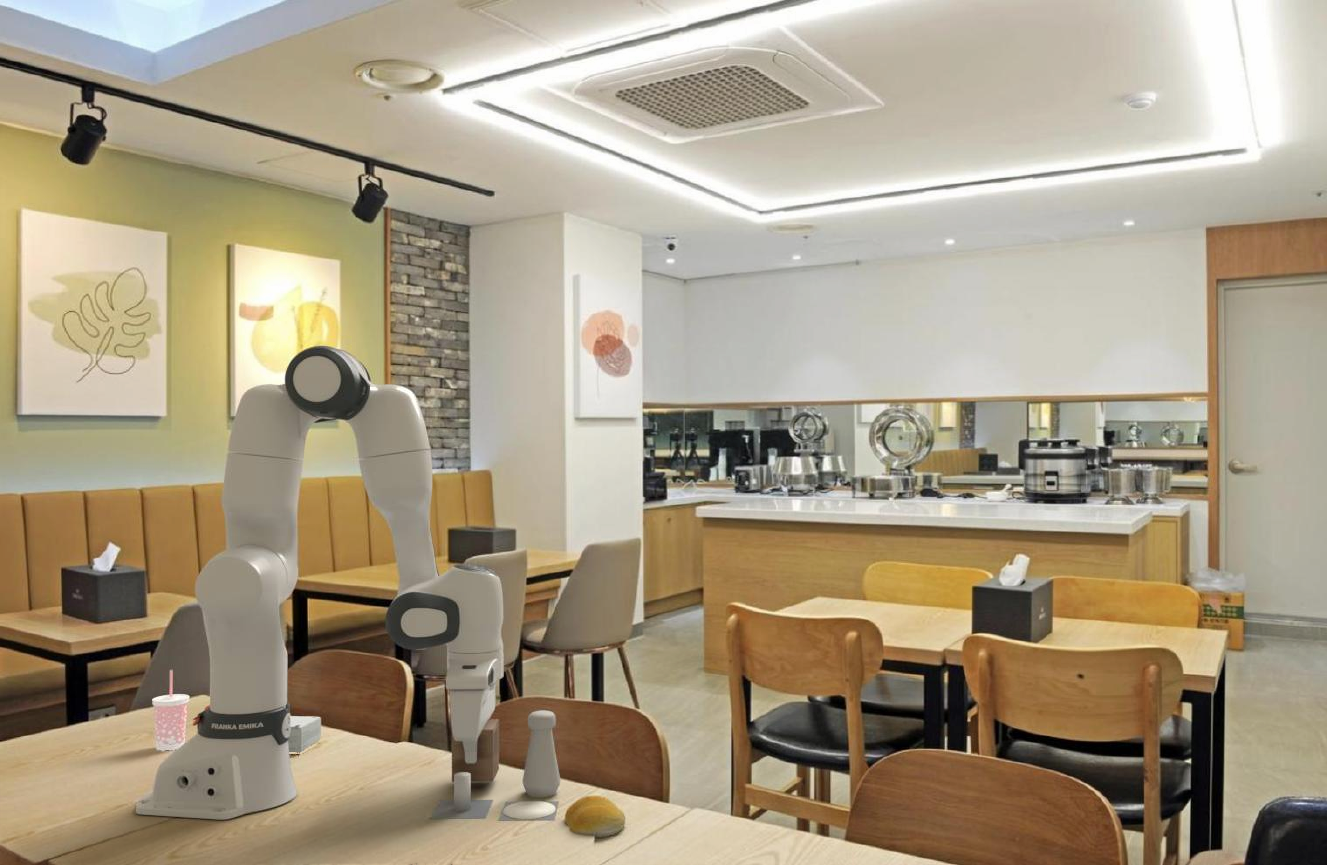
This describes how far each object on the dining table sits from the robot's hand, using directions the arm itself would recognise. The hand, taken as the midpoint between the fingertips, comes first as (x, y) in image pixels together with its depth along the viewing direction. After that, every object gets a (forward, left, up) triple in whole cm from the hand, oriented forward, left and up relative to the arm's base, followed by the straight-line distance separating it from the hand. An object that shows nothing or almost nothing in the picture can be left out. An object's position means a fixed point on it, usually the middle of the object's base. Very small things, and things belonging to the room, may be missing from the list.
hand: (475, 754), depth 161 cm
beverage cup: (-59, +25, -6) cm, 64 cm away
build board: (+10, -12, -5) cm, 16 cm away
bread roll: (+20, -17, -6) cm, 27 cm away
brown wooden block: (0, 0, -3) cm, 3 cm away
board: (0, -11, -5) cm, 12 cm away
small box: (-37, +24, -6) cm, 45 cm away
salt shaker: (+11, -4, -6) cm, 13 cm away
